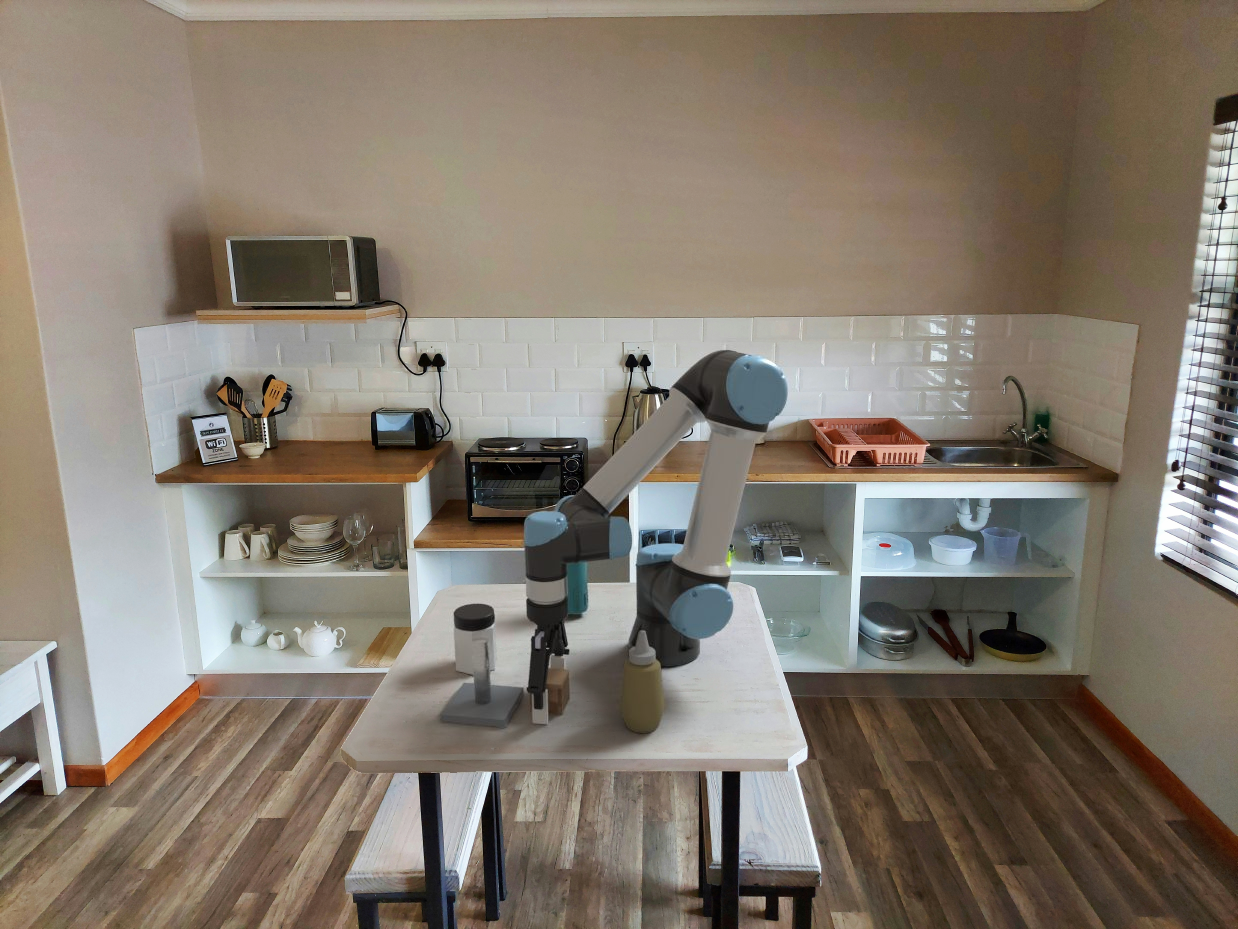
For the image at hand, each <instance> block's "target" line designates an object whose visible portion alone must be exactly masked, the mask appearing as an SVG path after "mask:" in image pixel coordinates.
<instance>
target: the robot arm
mask: <svg viewBox="0 0 1238 929" xmlns="http://www.w3.org/2000/svg"><path fill="white" fill-rule="evenodd" d="M786 379H787V378H786V377H785V375H784V373H783V372H782V370H781V368H780V367H779V366H778V365H777V364H775V362H773V361H771V360H769V359H767V358H764V357H762V356H759V355H758V354H749V353H744V352H739V351H736V350H729V349H721V350H716V351H713V352H710V353H709V354H707V355H705V356H703V357H702V358H701V359H699V360H698V361H697V362H696V363H694V364H693V365H692V366H691V367H690V368H688V369H687V370H686V372H684V374H682V375H681V376H680V378H678V380H676V382H674V384H673V385H672V386H671V387H670V388H669V390H668V391H669V393H668V394H669V396H668V397H667V399H665V401H664V402H663V403H662V404H661V405H660V406H659V407H658V408H657V409H656V410H655V411H654V412H653V413H652V414H651V415H650V416H649V417H648V418H647V419H646V420H645V422H643V424H642V425H641V426H640V427H638V429H637V430H636V431H635V432H634V433H633V434H632V435H631V436H630V437H629V438H628V439H627V440H626V441H625V443H623V444H622V445H621V447H619V449H617V451H616V452H615V453H614V454H613V455H612V456H611V457H610V458H609V459H608V460H607V461H606V463H604V464H603V466H602V467H601V468H599V470H598V471H597V472H596V473H595V474H594V475H593V476H592V477H591V478H590V479H589V480H588V481H587V482H586V483H585V484H584V485H583V487H582V488H581V489H579V491H578V492H576V494H575V495H574V494H573V495H572V494H571V495H567V496H565V497H563V498H561V499H560V500H558V502H557V503H556V505H555V506H554V509H553V510H551V511H547V510H542V511H537V512H536V511H535V512H532V513H531V514H529V515H527V517H525V520H524V523H523V525H524V527H523V546H524V566H525V568H524V569H525V577H524V578H523V580H522V582H523V583H524V584H525V591H526V592H525V593H526V600H525V602H526V605H525V606H526V607H525V608H526V609H525V610H526V617H527V619H528V621H530V622H532V623H534V624H535V625H536V628H535V629H534V635H532V636H531V638H530V659H529V672H528V682H527V687H526V688H525V689H526V692H527V694H529V695H530V694H532V712H531V715H532V724H538V725H548V724H549V714H548V692H547V689H546V682H547V675H548V668H556V669H566V656H569V655H570V648H568V646H569V642H568V636H567V631H566V627H565V626H566V624H565V620H566V619H567V618H568V616H569V614H568V598H567V597H566V596H567V595H568V581H567V565H568V564H574V563H581V562H586V563H588V562H596V561H605V560H614V559H619V558H624V557H627V556H628V555H629V554H630V553H631V550H632V548H633V532H632V529H631V526H630V523H629V521H628V519H627V518H625V517H623V516H613V515H612V516H610V515H611V513H612V512H613V511H614V510H615V509H616V508H617V507H618V506H619V505H620V503H622V502H623V500H624V499H625V498H626V497H628V495H630V493H631V492H632V491H633V490H634V489H635V488H636V487H637V486H638V485H639V484H640V483H641V481H642V480H644V478H646V477H647V476H648V474H650V472H651V471H652V470H653V469H654V468H655V467H656V466H657V465H658V464H659V463H660V462H661V461H662V460H663V459H664V458H665V457H666V456H667V455H668V453H669V452H671V451H672V450H673V448H674V447H675V446H677V444H678V443H679V442H680V441H681V440H682V439H683V438H684V437H685V436H686V435H687V434H688V433H689V432H690V431H691V429H692V428H693V427H695V425H696V424H697V423H698V424H699V423H702V424H703V423H705V422H706V424H708V427H709V428H710V434H709V436H708V442H707V447H706V450H705V454H704V460H703V462H702V467H701V471H700V475H699V480H698V482H697V483H698V484H697V488H696V492H695V496H694V500H693V504H692V509H691V513H690V516H689V521H688V525H687V529H686V533H685V538H684V542H683V544H681V543H658V544H650V545H647V546H644V547H642V548H640V549H639V551H637V554H636V561H635V562H636V563H635V565H634V566H635V579H636V581H635V582H636V583H635V584H636V585H635V586H636V588H635V589H636V591H635V592H636V593H635V594H636V617H635V619H634V623H633V624H632V625H633V626H632V628H631V631H630V635H629V638H628V643H627V644H628V646H627V647H628V651H629V650H630V649H631V648H633V647H635V646H636V642H637V638H638V633H639V631H641V630H644V631H646V636H647V640H648V644H649V647H652V648H653V649H654V650H655V652H656V660H658V661H659V662H660V665H661V667H677V666H681V665H685V664H688V663H690V662H692V661H694V660H695V659H697V657H699V655H700V653H701V640H704V639H708V638H711V637H713V636H716V634H717V633H719V632H721V631H722V630H724V628H726V626H727V625H728V624H729V622H730V620H731V619H732V616H733V613H734V600H733V598H732V595H731V593H730V591H728V587H729V584H730V579H731V576H732V570H731V569H730V567H729V565H728V563H727V558H728V556H729V555H728V554H729V550H730V546H731V543H732V538H733V534H734V529H735V525H736V522H737V518H738V516H739V510H740V506H741V502H742V498H743V494H744V490H745V486H746V482H747V478H748V474H749V469H750V467H751V463H752V458H753V455H754V451H755V446H756V442H757V441H758V440H759V439H761V438H762V437H764V436H765V435H767V434H768V429H769V424H770V422H772V421H774V420H776V417H777V416H780V415H781V413H782V412H783V410H784V408H786V405H787V401H788V394H789V393H788V392H789V390H788V383H787V382H788V381H787V380H786ZM523 583H522V584H523ZM565 655H566V656H565ZM549 666H550V667H549Z"/></svg>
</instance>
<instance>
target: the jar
mask: <svg viewBox="0 0 1238 929" xmlns="http://www.w3.org/2000/svg"><path fill="white" fill-rule="evenodd" d="M495 616H496V614H495V609H494V608H493V607H492V605H490V604H486V603H468V604H464V605H461V606H458V607H457V608H456V609H455V610H454V611H453V625H454V626H453V639H454V659H455V660H454V661H455V671H456V672H460V673H464V674H467V675H471V676H474V673H473V654H472V640H473V639H475V638H478V637H485V638H487V639H488V641H489V661H490V672H491V671H495V669H496V665H497V659H498V658H497V640H496V639H497V636H496V619H495V618H496V617H495Z"/></svg>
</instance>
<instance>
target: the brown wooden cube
mask: <svg viewBox="0 0 1238 929" xmlns="http://www.w3.org/2000/svg"><path fill="white" fill-rule="evenodd" d="M546 689H547V692H548V715H549V714H550V715H560V716H562V715H563V714H564V712H565V709H566V708H567V705H568V703H569V701H570V698H571V694H570V669H567V668H565V669H556V668H551V667H549V668H548V675H547V682H546ZM529 710H530V711H529V712H530V713H532V694H530V693H529Z"/></svg>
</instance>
